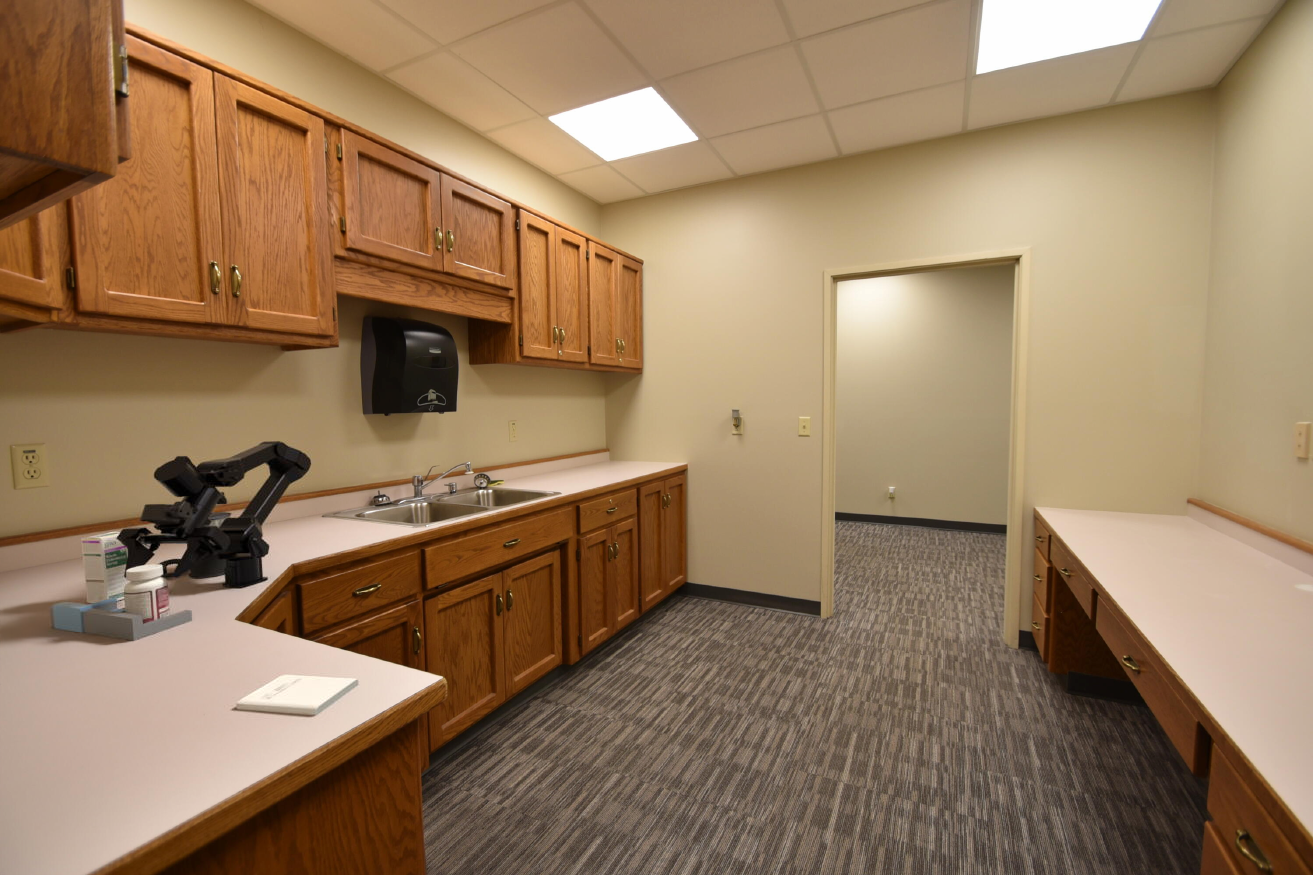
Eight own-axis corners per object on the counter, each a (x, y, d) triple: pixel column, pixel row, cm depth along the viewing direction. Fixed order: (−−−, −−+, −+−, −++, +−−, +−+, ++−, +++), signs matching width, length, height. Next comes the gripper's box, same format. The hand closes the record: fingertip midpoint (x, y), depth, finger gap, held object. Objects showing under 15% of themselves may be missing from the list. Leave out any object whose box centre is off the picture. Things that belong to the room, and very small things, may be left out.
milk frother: (239, 572, 140) (235, 514, 139) (155, 588, 128) (151, 525, 127) (227, 562, 149) (223, 508, 148) (148, 576, 137) (143, 517, 137)
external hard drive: (316, 719, 74) (236, 712, 76) (359, 688, 82) (285, 682, 84) (315, 707, 73) (235, 701, 76) (358, 677, 82) (284, 672, 84)
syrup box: (107, 604, 118) (101, 537, 117) (85, 603, 119) (80, 536, 118) (137, 595, 123) (132, 531, 122) (116, 594, 124) (111, 530, 123)
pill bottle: (163, 617, 110) (159, 561, 109) (175, 623, 107) (171, 565, 106) (121, 628, 105) (117, 569, 104) (133, 634, 101) (128, 574, 101)
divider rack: (192, 620, 108) (190, 597, 108) (132, 641, 99) (130, 615, 98) (112, 609, 115) (111, 587, 115) (49, 627, 106) (47, 603, 105)
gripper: (122, 488, 110) (68, 557, 100) (216, 486, 111) (172, 555, 100) (159, 519, 119) (113, 586, 108) (246, 517, 119) (209, 583, 109)
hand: (150, 577), depth 106 cm, fingers open, 9 cm apart
